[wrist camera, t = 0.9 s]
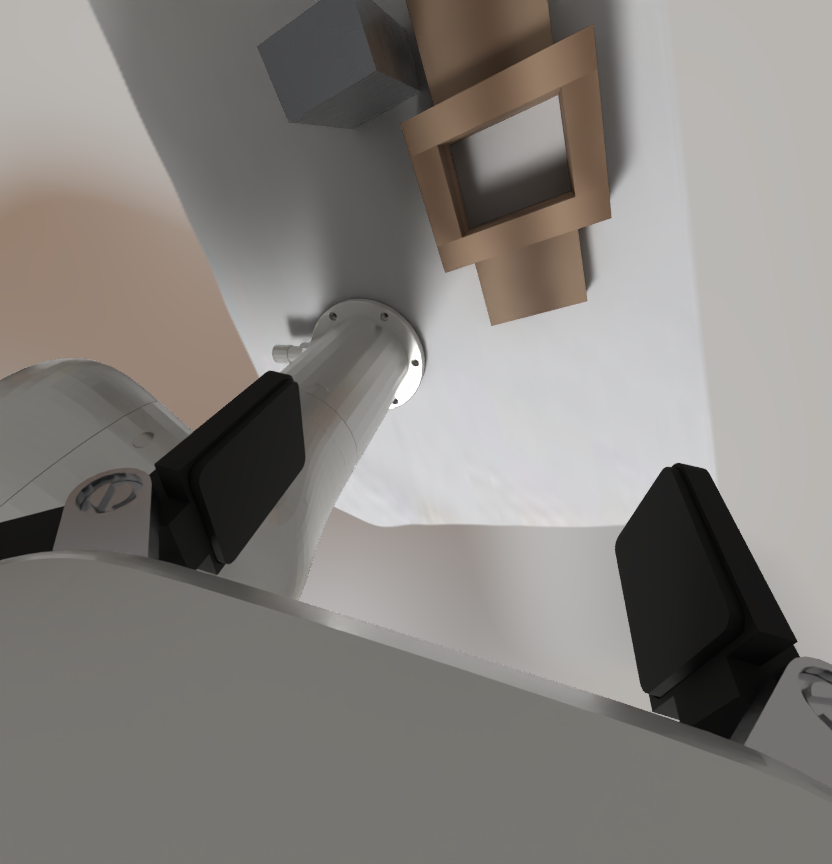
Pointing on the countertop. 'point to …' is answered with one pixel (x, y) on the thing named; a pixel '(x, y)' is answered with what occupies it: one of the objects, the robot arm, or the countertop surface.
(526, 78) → the socket
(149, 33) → the countertop surface
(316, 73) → the bracket
